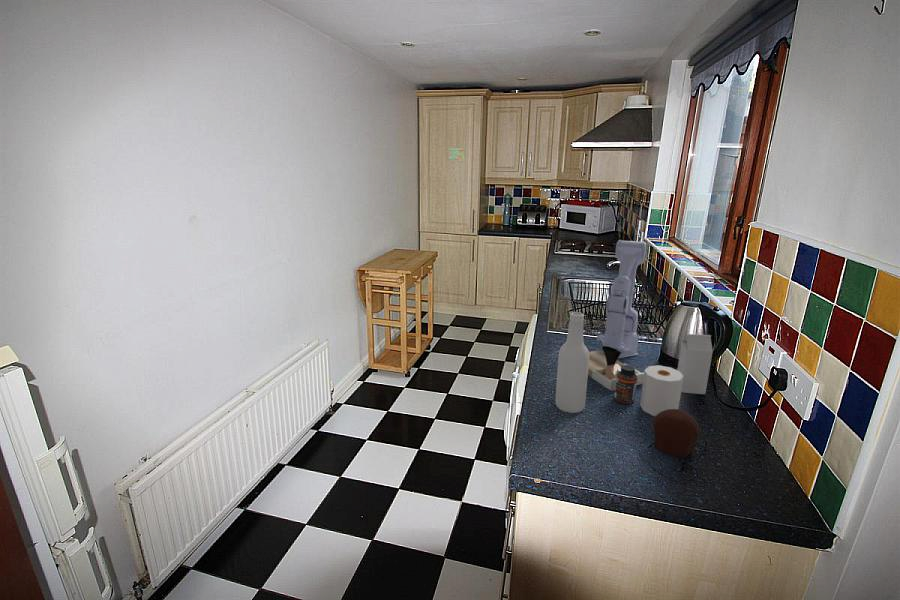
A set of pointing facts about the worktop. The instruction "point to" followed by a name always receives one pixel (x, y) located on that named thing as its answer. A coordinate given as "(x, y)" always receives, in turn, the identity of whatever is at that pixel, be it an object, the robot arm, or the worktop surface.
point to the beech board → (598, 362)
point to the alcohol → (572, 368)
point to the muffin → (675, 432)
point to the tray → (611, 383)
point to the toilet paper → (660, 389)
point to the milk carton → (695, 363)
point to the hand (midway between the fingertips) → (610, 366)
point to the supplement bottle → (626, 385)
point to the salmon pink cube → (612, 370)
